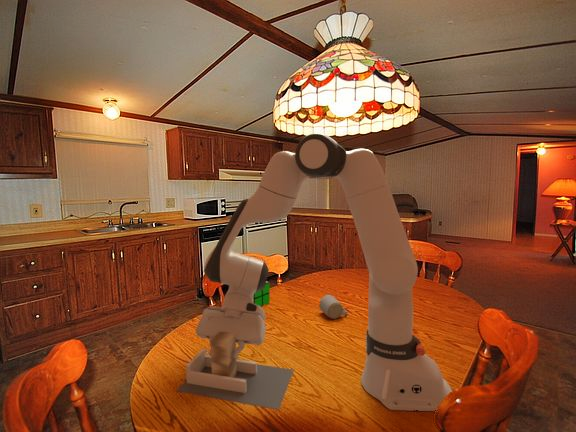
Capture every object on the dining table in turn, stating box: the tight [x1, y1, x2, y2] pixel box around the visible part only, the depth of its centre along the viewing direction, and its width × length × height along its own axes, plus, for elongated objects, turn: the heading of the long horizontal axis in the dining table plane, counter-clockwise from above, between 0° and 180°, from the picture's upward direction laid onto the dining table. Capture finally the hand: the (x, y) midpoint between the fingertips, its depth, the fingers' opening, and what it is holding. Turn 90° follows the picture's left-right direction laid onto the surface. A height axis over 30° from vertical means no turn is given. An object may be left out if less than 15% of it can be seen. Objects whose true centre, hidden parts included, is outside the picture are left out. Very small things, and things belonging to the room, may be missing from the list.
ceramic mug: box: [318, 294, 348, 320], centre depth 124 cm, size 11×8×8 cm
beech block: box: [210, 331, 237, 378], centre depth 83 cm, size 5×5×12 cm
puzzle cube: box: [253, 280, 271, 308], centre depth 137 cm, size 10×10×10 cm
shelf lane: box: [175, 347, 295, 410], centre depth 83 cm, size 28×16×6 cm, turn 76°
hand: (222, 357), depth 82 cm, fingers closed on beech block, 5 cm apart
